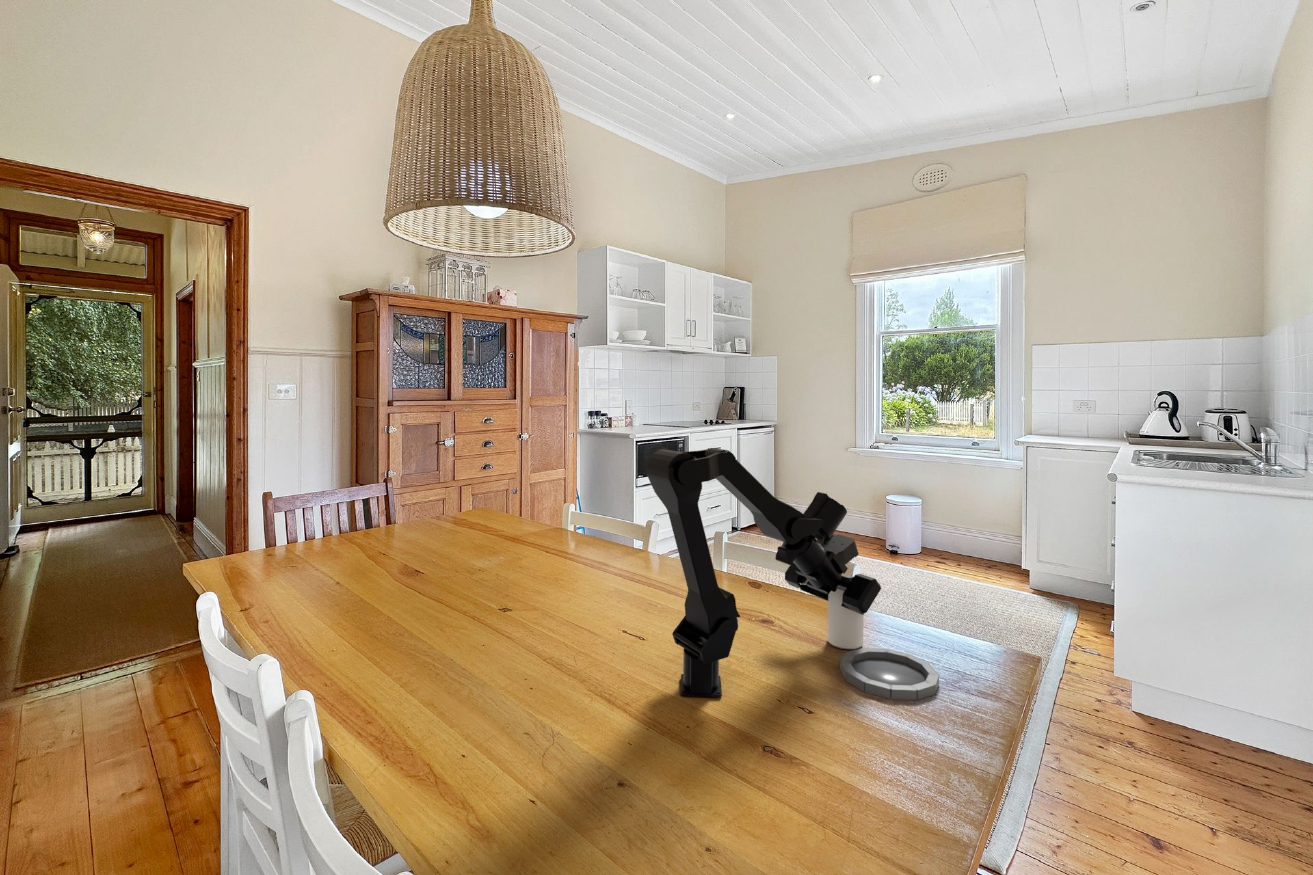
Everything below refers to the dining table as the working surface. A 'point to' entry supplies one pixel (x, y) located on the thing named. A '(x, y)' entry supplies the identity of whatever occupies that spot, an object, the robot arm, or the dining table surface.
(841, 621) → the can
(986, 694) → the dining table surface
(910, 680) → the round gray tray
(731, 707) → the dining table surface
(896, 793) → the dining table surface
